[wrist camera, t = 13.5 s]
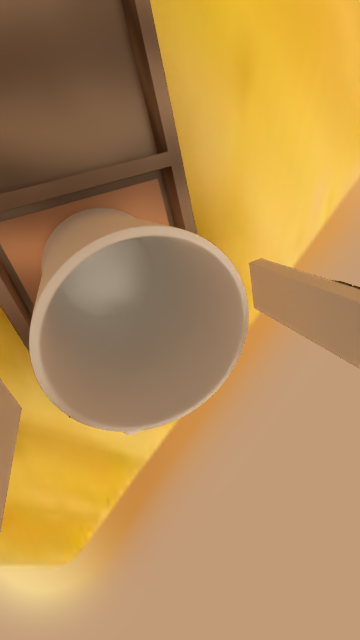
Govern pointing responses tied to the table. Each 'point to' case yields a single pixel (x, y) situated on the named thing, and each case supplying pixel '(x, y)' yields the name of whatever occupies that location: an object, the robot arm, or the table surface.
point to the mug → (133, 321)
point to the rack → (80, 130)
